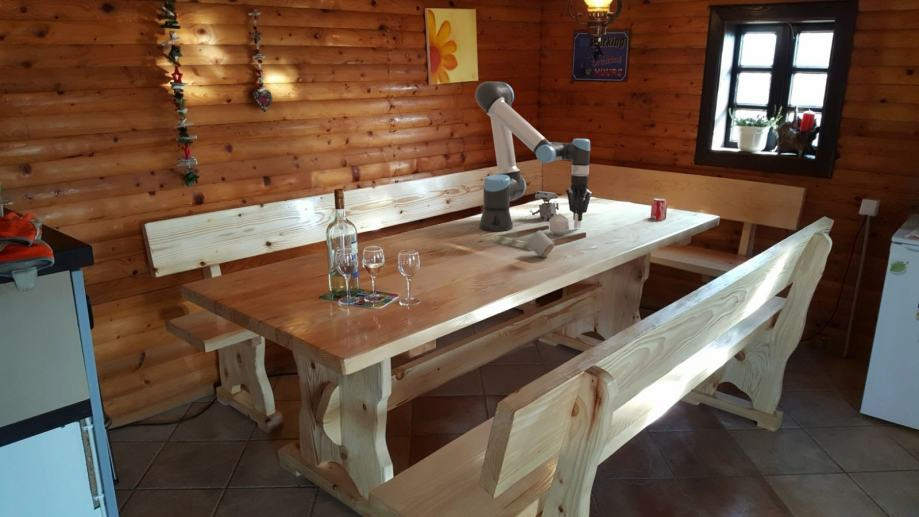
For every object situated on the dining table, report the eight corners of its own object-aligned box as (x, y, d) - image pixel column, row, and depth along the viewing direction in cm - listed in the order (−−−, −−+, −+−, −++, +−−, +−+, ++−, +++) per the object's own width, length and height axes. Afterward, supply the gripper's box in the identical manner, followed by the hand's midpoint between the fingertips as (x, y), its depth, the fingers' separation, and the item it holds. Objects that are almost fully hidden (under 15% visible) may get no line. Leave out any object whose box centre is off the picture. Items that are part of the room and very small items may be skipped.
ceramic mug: (540, 262, 252) (546, 249, 247) (524, 248, 255) (529, 235, 249) (557, 248, 258) (563, 235, 252) (541, 235, 261) (546, 222, 255)
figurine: (541, 220, 327) (542, 189, 324) (560, 223, 319) (561, 191, 315) (529, 222, 321) (530, 191, 317) (548, 225, 313) (549, 193, 309)
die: (568, 238, 286) (569, 215, 283) (547, 237, 288) (548, 214, 285) (569, 234, 294) (570, 212, 292) (549, 233, 296) (549, 211, 293)
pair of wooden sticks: (493, 241, 279) (494, 235, 278) (546, 230, 302) (547, 225, 301) (533, 250, 264) (533, 244, 263) (585, 238, 287) (586, 232, 286)
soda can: (667, 223, 320) (669, 198, 317) (663, 226, 314) (665, 200, 311) (652, 222, 324) (654, 197, 321) (648, 224, 318) (650, 199, 315)
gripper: (562, 174, 295) (560, 226, 301) (587, 176, 286) (584, 231, 292) (573, 172, 300) (570, 224, 306) (597, 175, 291) (594, 229, 297)
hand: (577, 227), depth 299 cm, fingers closed
